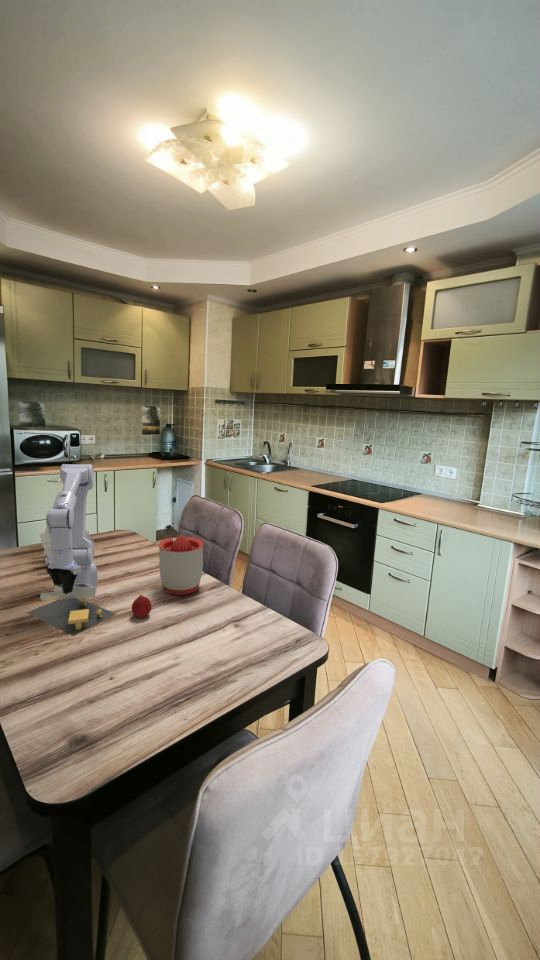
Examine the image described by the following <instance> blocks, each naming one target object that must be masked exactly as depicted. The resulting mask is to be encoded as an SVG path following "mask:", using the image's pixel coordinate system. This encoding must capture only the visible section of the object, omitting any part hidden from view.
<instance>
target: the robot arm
mask: <svg viewBox="0 0 540 960" xmlns="http://www.w3.org/2000/svg"><path fill="white" fill-rule="evenodd" d="M59 476H60V477H59V478H60V480H61V482H62V484H63V485H62V491H59V492H58V493H57V495H56V497H55V499H54V500H55V501H54V503H53V505H52V508H51V509H50V510H48V511H46V516H45V524H46V528H48V533H49V535H50V541H51V556H50V557H48V556H46V557H45V558H44V563H45V564H46V565H48V567H47V568H46V572H47V574H48V575H49V576H50V578H51V580H52V584H53V586H54V587H55V585H60V584H63V590H64V593H65V594H68V593H70V592H72V590H73V586H74V583H82V582H84V583H87V584H90V585H92V586H95V587H97V586H98V569H97V565H96V564H95V563H94V558H95V557H94V556H95V555H94V554H95V550H94V551H93V544H92V542H91V541H89V540H88V539H86V538H85V529H86V523H87V522H86V519H87V517H86V516H87V497H88V493H89V492H88V491H90V490H92V489H94V480H95V469H94V466H93V465H92V464H91V463H88V464H86V463H85V464H81V463H79V464H77V463H76V464H75V463H74V464H73V463H72V464H68V463H67V464H65V463H63V464H61V466H60V469H59ZM73 546H86V547H79V548H72V547H73Z"/></svg>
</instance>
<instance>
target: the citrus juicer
mask: <svg viewBox="0 0 540 960" xmlns="http://www.w3.org/2000/svg"><path fill="white" fill-rule="evenodd" d="M157 545H158V550H159V551H158V553H159V557H158V559H159V562H158V563H159V565H158V567H159V576H160V580H161V584H162V587H163V589H164V592H166V593H168V594H170V595H172V594H174V596H175V595H176V596H178V595H179V596H181V595H182V596H183V595H188V594H192V593H194V592H196V591H197V590H198V588H199V586H200V583H201V579H202V575H203V569H204V545H205V543H204V541H203V540H201V539H199V538H197V537H193V536H192V537H191V536H187V537H185V536H184V535H183V534H180V535H179V536H178V537H176V538H175V540H173V538H172V537H169V538H165V539H163V540H161V541H160V542H159V543H158V544H157Z"/></svg>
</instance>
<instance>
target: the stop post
mask: <svg viewBox="0 0 540 960" xmlns="http://www.w3.org/2000/svg"><path fill="white" fill-rule="evenodd" d="M96 617H97V618H101V617H102V609H97V610H96Z"/></svg>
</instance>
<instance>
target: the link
mask: <svg viewBox="0 0 540 960" xmlns="http://www.w3.org/2000/svg"><path fill="white" fill-rule="evenodd" d="M96 593H97V586H92V585H90V584H87V583H84V582H82V583H74V586H73V590H72V592H70V593H68V594H65V593H64V590H63V584H60V585H55V586H54V590H53V591H47V592H41V593H40V595H39V596H40V597H39V599H40V600H42V601H45V602H53V601H56V600H59V599H60V600H62V599H69V598H77V599H81V598H86V599H87V598H95V597H96Z"/></svg>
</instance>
